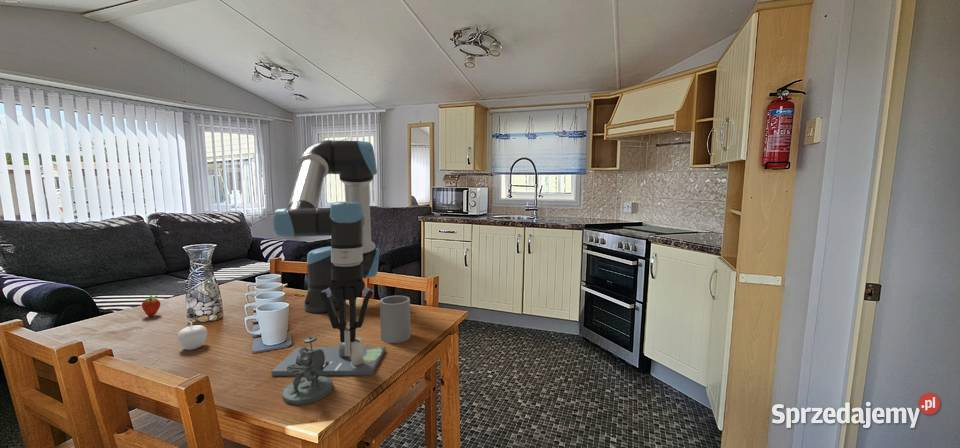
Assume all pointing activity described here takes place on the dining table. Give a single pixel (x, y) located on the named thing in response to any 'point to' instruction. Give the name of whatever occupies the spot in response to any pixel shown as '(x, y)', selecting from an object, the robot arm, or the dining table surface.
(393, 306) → the cup
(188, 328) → the plain white apple
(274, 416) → the dining table surface
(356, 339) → the grey and white piece
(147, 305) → the fruit
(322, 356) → the figurine
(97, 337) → the dining table surface
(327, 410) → the dining table surface
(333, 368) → the board
